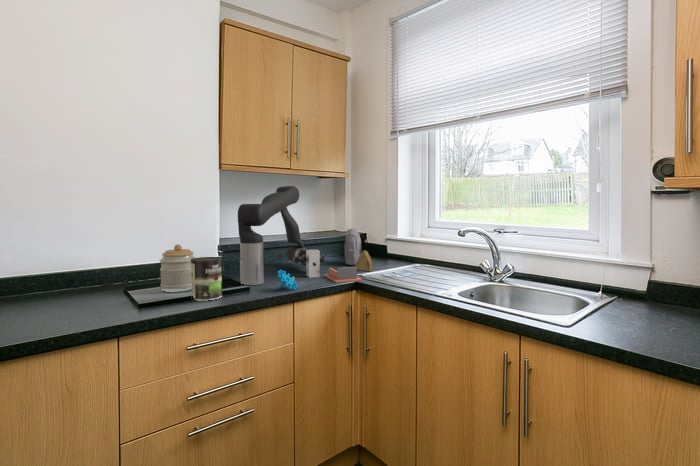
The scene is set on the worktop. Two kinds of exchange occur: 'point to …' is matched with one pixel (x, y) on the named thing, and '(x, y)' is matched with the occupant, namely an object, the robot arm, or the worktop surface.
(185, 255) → the jar
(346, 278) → the coupler cradle
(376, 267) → the worktop surface
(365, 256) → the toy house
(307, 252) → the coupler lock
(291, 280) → the gear
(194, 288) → the coffee can
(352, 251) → the small grey backpack
